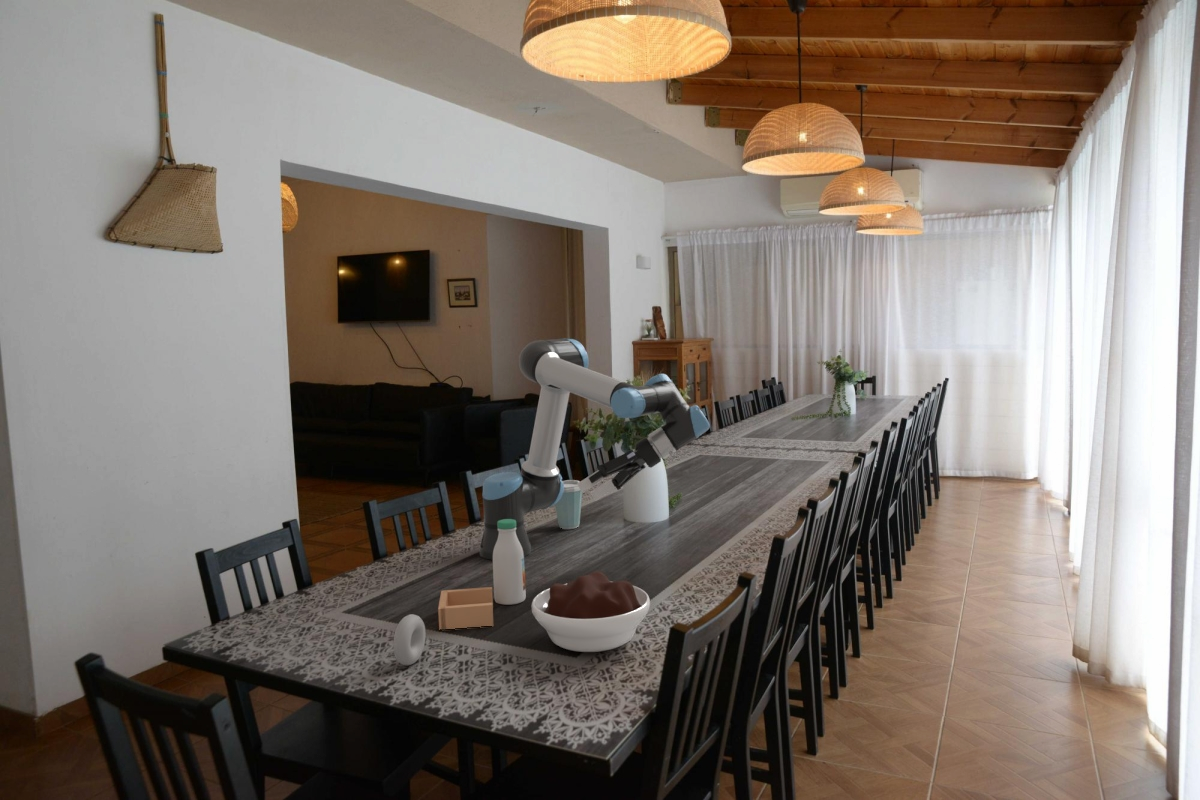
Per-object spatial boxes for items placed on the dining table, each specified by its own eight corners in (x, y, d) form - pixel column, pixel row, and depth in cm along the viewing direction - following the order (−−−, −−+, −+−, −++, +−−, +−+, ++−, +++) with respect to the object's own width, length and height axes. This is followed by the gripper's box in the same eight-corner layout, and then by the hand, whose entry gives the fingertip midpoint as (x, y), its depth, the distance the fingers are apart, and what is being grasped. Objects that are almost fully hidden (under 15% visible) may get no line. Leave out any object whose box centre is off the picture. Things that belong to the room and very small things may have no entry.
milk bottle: (520, 606, 202) (517, 524, 200) (490, 605, 203) (486, 524, 202) (529, 595, 209) (526, 517, 207) (500, 594, 211) (496, 516, 209)
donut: (407, 674, 165) (404, 625, 164) (391, 673, 165) (388, 624, 165) (429, 654, 174) (427, 607, 173) (414, 653, 175) (412, 606, 174)
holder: (493, 607, 202) (492, 586, 201) (493, 626, 189) (492, 604, 189) (442, 611, 200) (441, 590, 200) (439, 630, 187) (438, 609, 187)
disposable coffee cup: (573, 532, 270) (572, 486, 269) (546, 529, 276) (544, 484, 274) (590, 525, 279) (588, 480, 278) (563, 522, 285) (561, 478, 283)
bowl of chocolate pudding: (544, 621, 191) (541, 556, 190) (653, 621, 189) (651, 556, 187) (522, 666, 167) (519, 592, 165) (648, 667, 164) (646, 592, 163)
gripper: (654, 450, 205) (581, 497, 206) (669, 468, 228) (604, 511, 229) (638, 425, 207) (566, 472, 208) (655, 446, 231) (590, 488, 232)
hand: (586, 492), depth 219 cm, fingers open, 13 cm apart
